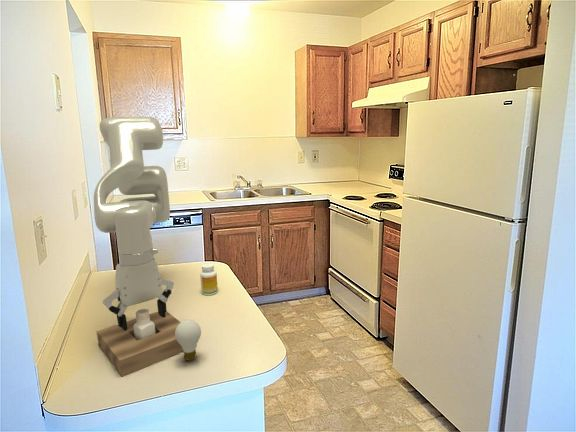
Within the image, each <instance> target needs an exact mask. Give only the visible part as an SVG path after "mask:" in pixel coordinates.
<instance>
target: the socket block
mask: <svg viewBox="0 0 576 432" xmlns="http://www.w3.org/2000/svg"><path fill="white" fill-rule="evenodd" d="M165 315H166V317H164V318H163V317H161V316H160V315H159V314H158V310H157V311H154V312H151V313H150V320H151V321H152V322H154V324H155V333H156V334H154V335H151V336H148V337H145V338H143V339H140V340H136V339H135V336H134V328H133V326H134V324H136V323H137V320H136V318H133V319H130V320H126V321H127V330H126V331H124V330H123V329H122V328H121V327H119V326H118V323H117V324H114V325H111V326H108V327H105V328H103V329H99V330H96V336H97V344H98V346H99V348H100V349H101V350H102V352H103V353H104V355H105V356H106V358H107V359H108V361H110V363H111V365H112V366H113V367H114V368H115V370H116V371H117V373H118V374H119V375H120V377H124V376H126V375H129V374H132V373H134V372H137V371H139V370H141V369H144V368H146V367H149V366H152V365H154V364H156V363H159V362H161V361H164V360H167V359H169V358H171V357H174V356H176V355H178V354H182V353H184V351H183V349H182V346H181V345H180V344H179V343H178V341H177V340H176V337H175V331H176V328H177V326H178V325H179V324H180V323H181V322H182V321H180V320H178V319H177V318H176V317H175V316H174V315H172V314H171V313H169V311H167V312H165Z"/></svg>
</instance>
